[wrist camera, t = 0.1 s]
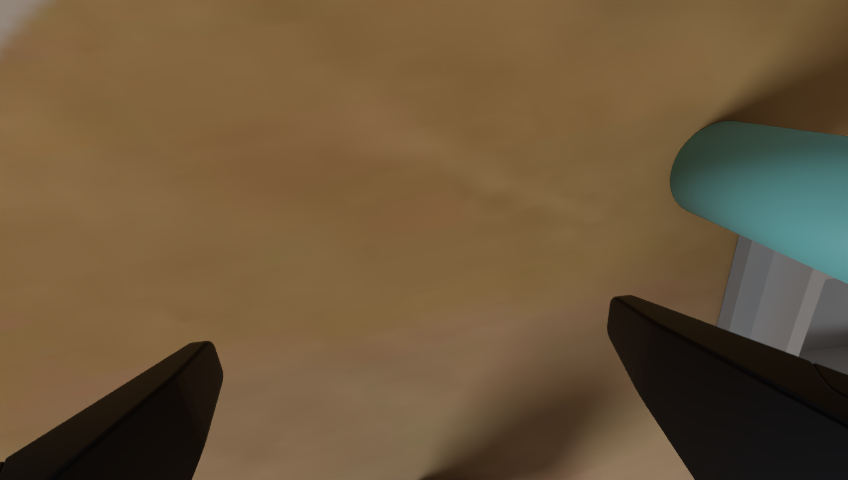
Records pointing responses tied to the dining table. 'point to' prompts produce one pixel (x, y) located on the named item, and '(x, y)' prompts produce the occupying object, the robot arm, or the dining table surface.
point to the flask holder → (786, 305)
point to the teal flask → (770, 189)
